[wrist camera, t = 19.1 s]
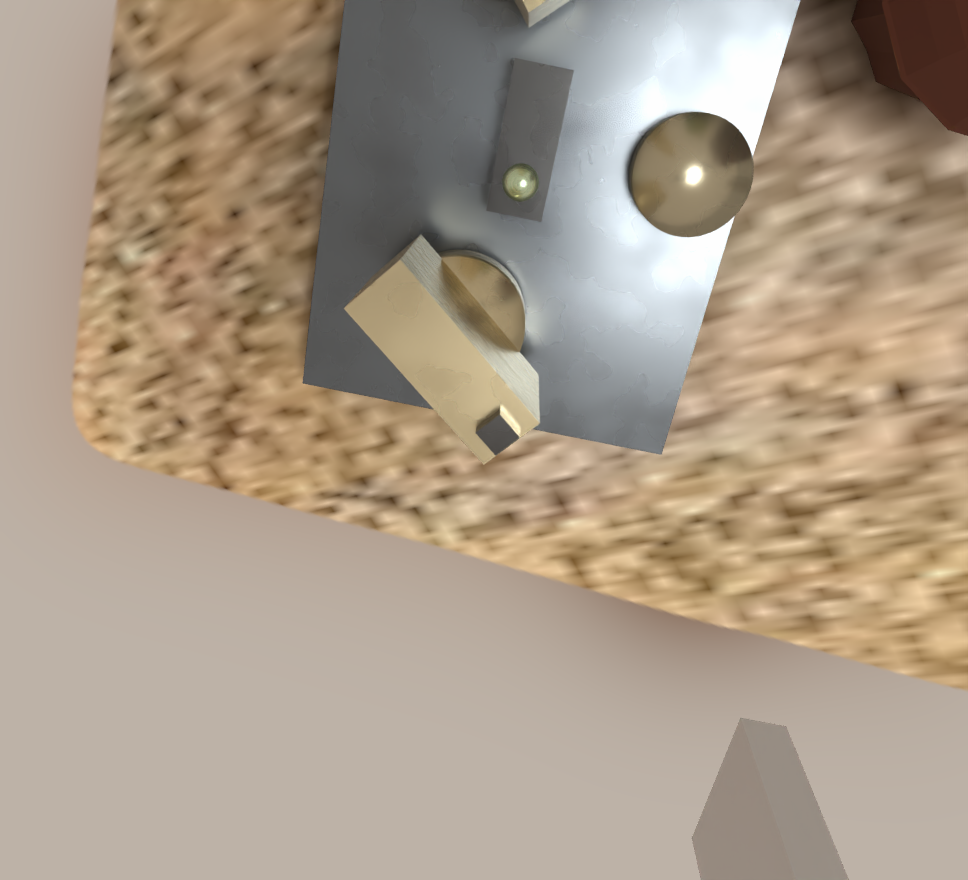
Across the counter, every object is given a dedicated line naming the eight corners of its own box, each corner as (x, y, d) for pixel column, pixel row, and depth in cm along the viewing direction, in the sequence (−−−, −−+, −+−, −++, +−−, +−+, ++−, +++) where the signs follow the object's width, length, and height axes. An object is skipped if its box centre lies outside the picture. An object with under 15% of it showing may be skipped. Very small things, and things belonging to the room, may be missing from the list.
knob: (355, 288, 37) (308, 339, 30) (453, 203, 36) (432, 233, 28) (466, 415, 40) (451, 494, 32) (564, 340, 38) (574, 404, 30)
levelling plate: (384, -257, 31) (364, -307, 28) (834, -158, 32) (877, -193, 28) (312, 370, 42) (290, 398, 38) (655, 439, 42) (668, 473, 38)
